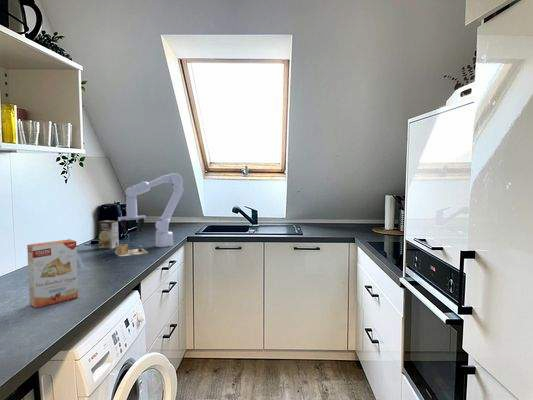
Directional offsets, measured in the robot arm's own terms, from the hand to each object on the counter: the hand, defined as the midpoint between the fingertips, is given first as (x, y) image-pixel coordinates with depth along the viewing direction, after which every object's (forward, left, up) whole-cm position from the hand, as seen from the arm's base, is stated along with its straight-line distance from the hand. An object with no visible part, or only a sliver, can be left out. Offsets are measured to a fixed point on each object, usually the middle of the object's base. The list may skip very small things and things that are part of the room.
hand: (132, 232), depth 210 cm
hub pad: (+8, +10, -9) cm, 15 cm away
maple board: (+3, +10, -10) cm, 14 cm away
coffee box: (+11, -11, -10) cm, 19 cm away
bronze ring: (+8, +10, -9) cm, 15 cm away
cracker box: (+41, +70, -10) cm, 82 cm away
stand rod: (-2, +10, -9) cm, 13 cm away
